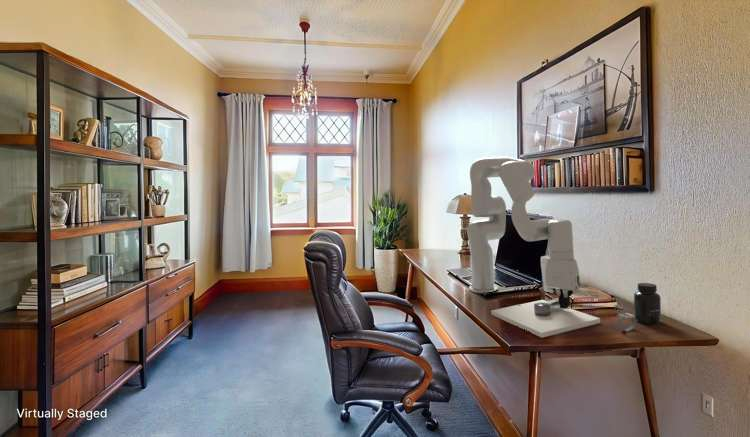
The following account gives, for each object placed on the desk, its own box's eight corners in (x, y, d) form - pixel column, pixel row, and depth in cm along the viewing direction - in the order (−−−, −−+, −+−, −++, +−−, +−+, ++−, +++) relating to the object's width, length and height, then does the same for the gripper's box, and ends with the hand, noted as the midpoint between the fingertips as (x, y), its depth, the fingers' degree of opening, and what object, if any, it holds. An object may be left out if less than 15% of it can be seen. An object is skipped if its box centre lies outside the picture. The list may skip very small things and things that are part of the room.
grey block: (544, 316, 120) (544, 307, 120) (531, 313, 124) (530, 304, 124) (566, 308, 126) (566, 299, 126) (553, 305, 131) (552, 296, 130)
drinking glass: (562, 293, 149) (561, 257, 148) (546, 294, 150) (545, 259, 149) (555, 289, 156) (553, 255, 155) (539, 290, 156) (537, 256, 155)
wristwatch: (630, 327, 111) (630, 311, 111) (639, 330, 108) (638, 314, 108) (614, 330, 110) (614, 314, 109) (623, 334, 107) (622, 317, 107)
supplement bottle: (658, 326, 110) (657, 288, 109) (631, 322, 115) (630, 285, 114) (663, 320, 114) (662, 283, 114) (637, 316, 120) (636, 280, 119)
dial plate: (491, 314, 131) (491, 310, 131) (543, 303, 139) (542, 299, 139) (541, 337, 108) (541, 332, 108) (600, 322, 116) (600, 317, 116)
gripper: (535, 255, 128) (538, 306, 129) (579, 258, 116) (582, 314, 117) (545, 252, 132) (548, 301, 133) (589, 255, 120) (592, 309, 121)
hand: (564, 307), depth 125 cm, fingers closed
